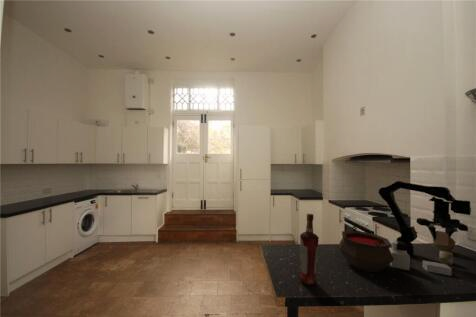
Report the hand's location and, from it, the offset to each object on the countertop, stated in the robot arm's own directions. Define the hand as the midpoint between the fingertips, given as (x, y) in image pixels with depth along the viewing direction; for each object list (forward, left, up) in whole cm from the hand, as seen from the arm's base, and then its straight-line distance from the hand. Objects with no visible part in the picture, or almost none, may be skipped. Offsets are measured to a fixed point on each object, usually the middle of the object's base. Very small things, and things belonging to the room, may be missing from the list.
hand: (440, 240), depth 109 cm
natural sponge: (+10, +22, -12) cm, 27 cm away
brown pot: (-37, -22, -12) cm, 45 cm away
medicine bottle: (-21, -14, -12) cm, 28 cm away
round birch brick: (+4, +4, -12) cm, 13 cm away
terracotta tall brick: (0, 0, -2) cm, 2 cm away
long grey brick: (-5, -11, -12) cm, 17 cm away
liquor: (-61, -51, -12) cm, 80 cm away
